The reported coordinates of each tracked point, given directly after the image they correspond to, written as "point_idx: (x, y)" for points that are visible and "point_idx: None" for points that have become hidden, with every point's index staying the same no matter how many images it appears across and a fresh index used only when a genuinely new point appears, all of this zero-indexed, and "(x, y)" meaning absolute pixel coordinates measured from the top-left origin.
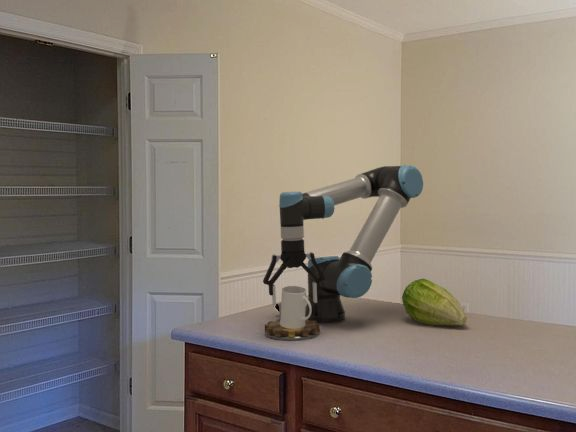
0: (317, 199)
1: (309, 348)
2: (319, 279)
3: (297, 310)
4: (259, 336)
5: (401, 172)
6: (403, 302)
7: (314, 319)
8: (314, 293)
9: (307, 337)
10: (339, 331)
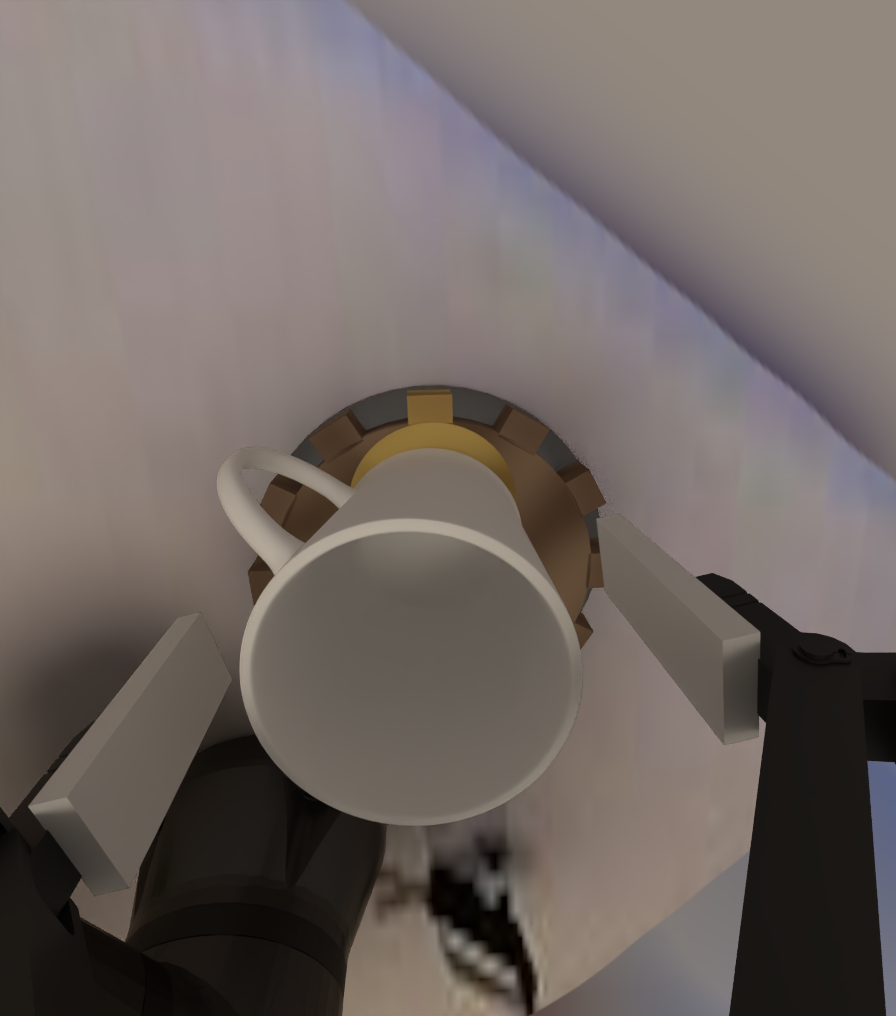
0: None
1: (288, 177)
2: None
3: (377, 482)
4: (626, 488)
5: None
6: None
7: None
8: (154, 680)
9: (325, 421)
10: (149, 594)
